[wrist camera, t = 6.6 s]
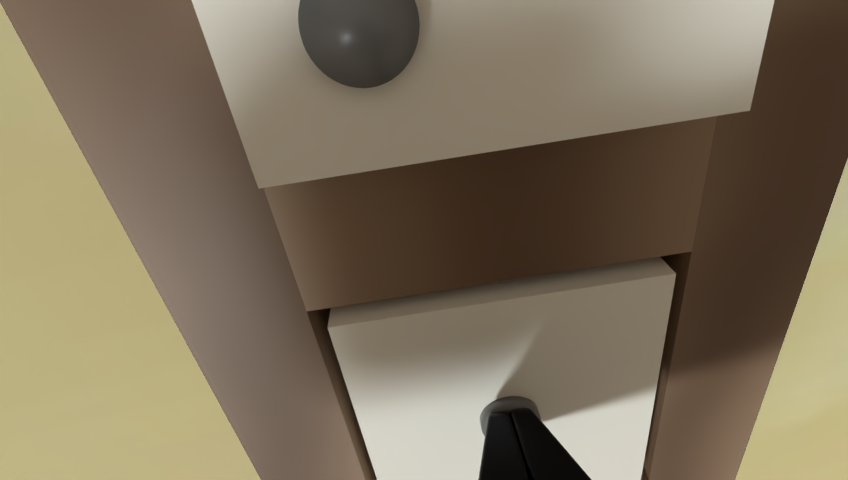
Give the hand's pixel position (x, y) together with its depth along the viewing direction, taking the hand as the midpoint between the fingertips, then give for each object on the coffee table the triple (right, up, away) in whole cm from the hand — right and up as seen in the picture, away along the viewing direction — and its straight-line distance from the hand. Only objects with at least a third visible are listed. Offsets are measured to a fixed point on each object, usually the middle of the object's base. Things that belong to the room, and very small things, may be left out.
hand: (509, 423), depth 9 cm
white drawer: (0, +1, +2) cm, 3 cm away
